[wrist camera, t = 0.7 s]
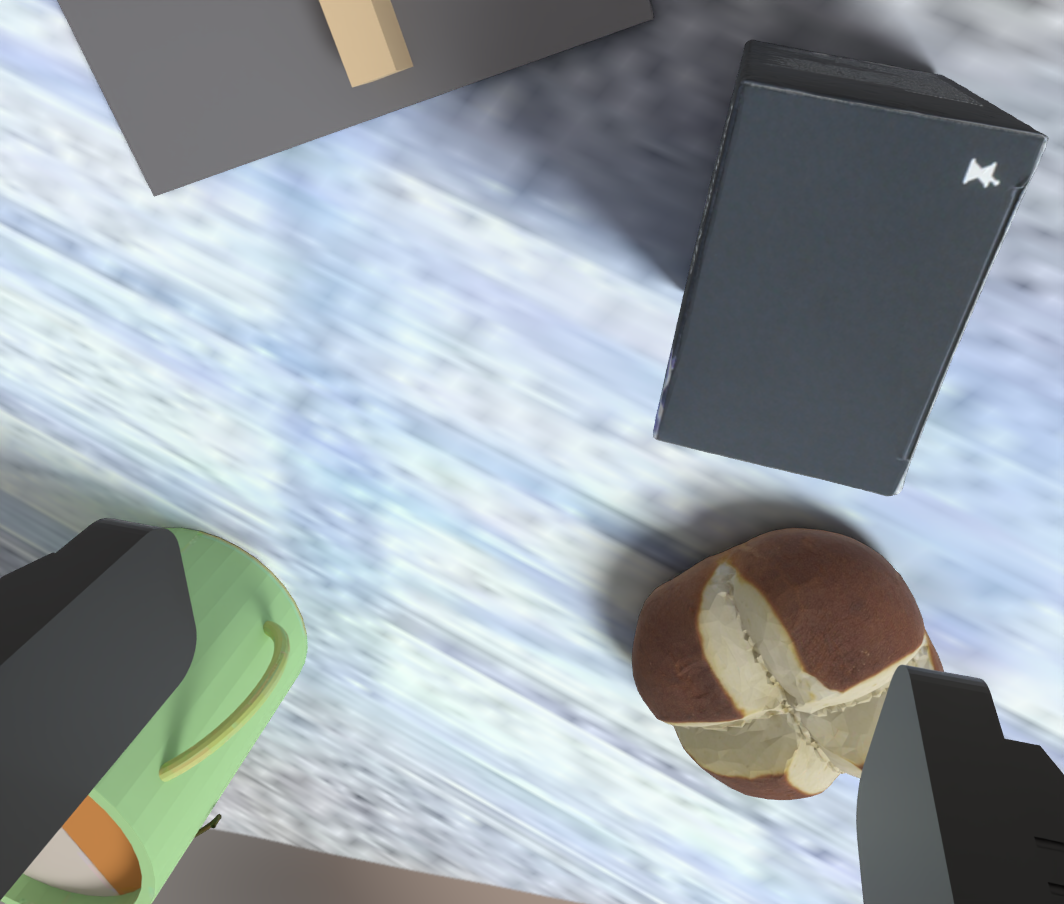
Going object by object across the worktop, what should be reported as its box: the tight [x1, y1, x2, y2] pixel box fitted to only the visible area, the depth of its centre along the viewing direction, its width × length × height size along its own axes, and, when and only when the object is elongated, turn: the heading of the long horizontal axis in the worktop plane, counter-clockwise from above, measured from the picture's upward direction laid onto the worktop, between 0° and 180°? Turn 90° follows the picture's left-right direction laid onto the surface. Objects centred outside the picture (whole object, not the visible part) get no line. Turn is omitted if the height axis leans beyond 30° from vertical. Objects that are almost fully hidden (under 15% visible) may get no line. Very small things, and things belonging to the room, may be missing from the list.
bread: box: [632, 528, 944, 800], centre depth 32 cm, size 11×11×5 cm
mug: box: [1, 528, 307, 904], centre depth 35 cm, size 13×10×12 cm
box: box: [653, 40, 1048, 496], centre depth 22 cm, size 8×6×11 cm
